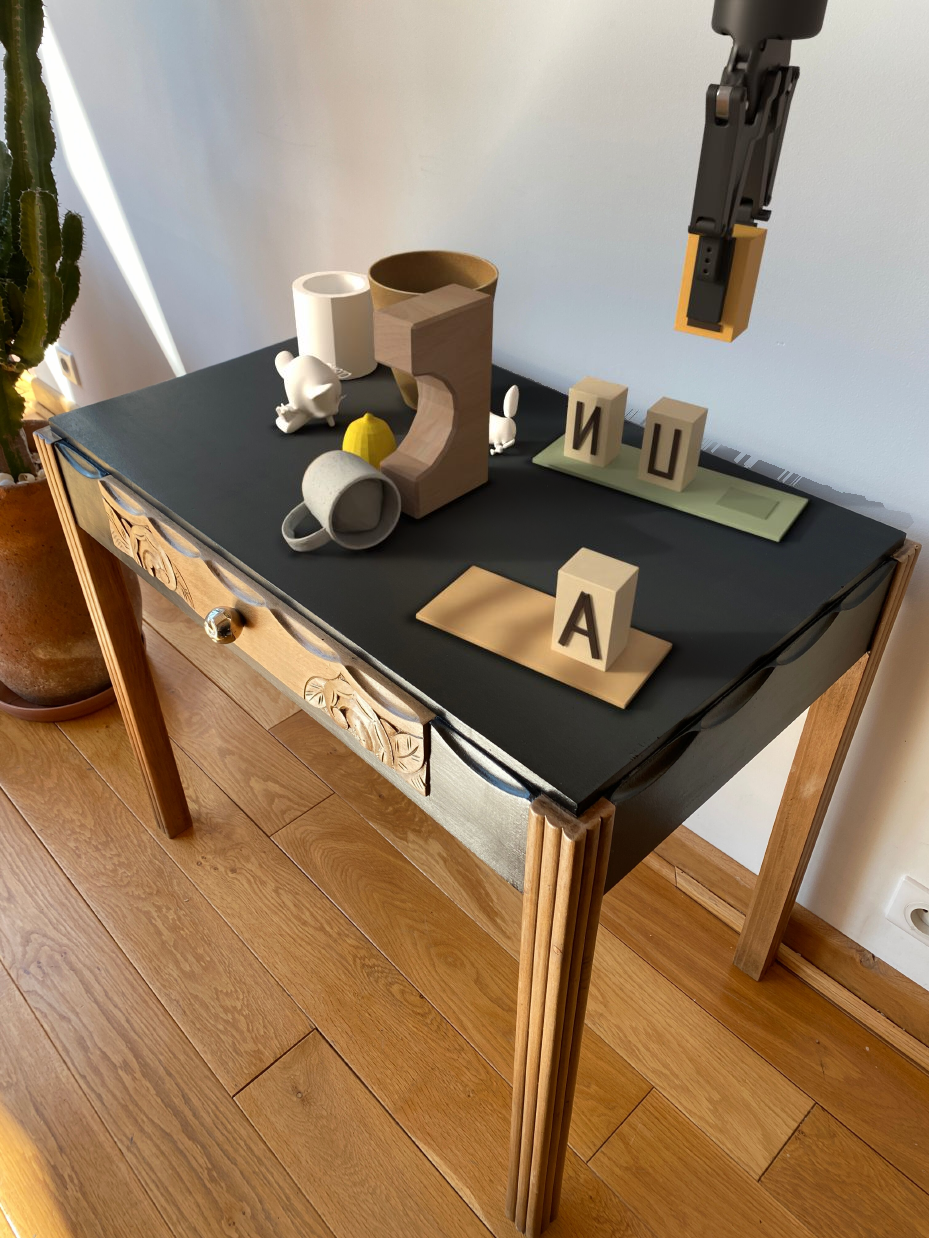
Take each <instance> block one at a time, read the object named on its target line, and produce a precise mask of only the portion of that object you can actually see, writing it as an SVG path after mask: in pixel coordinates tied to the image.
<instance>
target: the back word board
mask: <svg viewBox="0 0 929 1238" xmlns="http://www.w3.org/2000/svg"><path fill="white" fill-rule="evenodd" d="M565 436H566V432H564V434H562V435H561V436H560V437H558V439H556V440H555V441H553V442H552V443H551V444H550V445H548V446H547V447H546V448H545V449H543V450H542V451H541V452H539V453H538V454H537V455H535V456H534V457H533V458H532V463H534V464H537V465H540V466H542V467H546V468H549V469H552V470H555V471H558V472H561V473H564V474H567V475H570V476H573V477H577V478H578V479H579V478H580V479H582V480H585V481H589V482H592V483H595V484H598V485H601V486H603V487H607V488H610V489H612V490H613V489H614V490H617V491H619V492H622V493H626V494H629V495H632V496H636V497H638V498H642V499H644V500H647V501H651V502H652V503H653V502H654V503H657V504H660V505H662V506H666V507H669V508H672V509H675V510H678V511H681V512H685V513H687V514H691V515H693V516H697V517H699V518H703V519H706V520H710V521H713V522H716V523H719V524H721V525H724V526H728V527H731V528H734V529H737V530H740V531H743V532H746V533H749V534H753V535H755V536H758V537H762V538H765V539H768V540H771V541H774V542H777V543H780V541H781V540H782V539H783V537H784V536H785V535H786V533H788V530H789V529H790V527H792V525H793V524H794V522H795V521H796V519H798V517H799V516H800V514H801V513H802V511H804V509H805V507H806V506H807V505H808V503H809V498H805V497H802V496H799V495H795V494H792V493H789V492H785V491H783V490H780V489H775V488H772V487H769V486H765V485H762V484H758V483H755V482H753V481H749V480H745V479H743V478H739V477H736V476H732V475H728V474H725V473H721V472H718V471H716V470H712V469H708V468H705V467H702V466H697V471H696V476H695V478H694V479H693V480H692V481H691V482H690V483H689V484H688V485H687V486H686V487H685V488H684V489H683V490H682V491H681V492H677V491H674V490H671V489H668V488H665V487H661V486H658V485H655V484H652V483H649V482H646V481H642V480H639V479H637V478H638V471H639V464H640V457H641V450H642V448H638V447H635V446H631V445H629V444H625V443H622V442H621V448H620V454H619V455H618V456H617V457H616V458H615V459H613V460H612V461H611V462H610V463H609V464H608V465H607V466H605V467H604V468H601V467H598V466H595V465H592V464H589V463H586V462H582V461H579V460H576V459H573V458H570V457H567V456H564V447H565Z"/></svg>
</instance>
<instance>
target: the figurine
mask: <svg viewBox="0 0 929 1238" xmlns="http://www.w3.org/2000/svg"><path fill="white" fill-rule="evenodd" d="M274 363H275V367H276V370H277V372H278V374H279V375H280V376H281V378H282V379H283V381H284V389H285V392H286V397H287V399H288V403H287V404H285V405H284V403H281V406H277V407H276V408H275V411H276V413H277V415H278V417H277V418H276V419H275V424H276V426H277V427H278V428H279V429H280V430H281V431H283V433H284V434H292V433H295V432H296V431H298V430H299V429H300V428H302V427H303V426H305V424H307V423H308V422H309V421H311V420H321V419H325V420H326V422H327V424H328V425H329V427H334V426H335V424H336V423H335V420H334V417H333V416H334V415H336V414H337V413H339V405H340V402H341V401H342V400H343V399H344V398H345V397H346V396H347V394H345V395H342V383H341V380H339V379H338V378H345V377H347V376H345V377H340V376H339V375H336V373H335V372H334V371H335V370H333V369H332V368H334V367H336V366H334V367H330V366H329V365H331V364H330V363H326V364H325V363H324V362H322V361H321V360H319V359H318V358H316V357H314V356H311V355H302V356H300V355H298V356H296V357H294V356H293V354H292V353H291V352H290V351H287V350H283V351H280V352H279V353H278V354H277V355H276V357H275V359H274ZM327 364H328V365H327ZM331 366H332V365H331ZM334 369H336V370H340V371H339V372H341V371H342V370H343V369H337V368H334ZM339 372H337V373H339ZM343 372H344V373H347V372H346V371H343ZM344 373H342V374H344ZM342 374H340V375H342ZM347 374H349V375H348V376H350V375H351V373H347ZM337 376H339V377H337Z"/></svg>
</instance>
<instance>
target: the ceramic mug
mask: <svg viewBox="0 0 929 1238" xmlns="http://www.w3.org/2000/svg"><path fill="white" fill-rule="evenodd" d="M301 491H302V497H303V501H302V502H301V503H300V504H298V505H297V506H296V507H294V508H293V509H292V510H291V511H290V512H289V513H288V514H287V515H286V517H285V518H284V519H283V520H284V521H283V522H282V526H281V533H282V536H283V537H284V539H285V541H286V543H287V544H288V545H289V546H290V547H291V549H293V550H294V551H297V552H312V551H314V550H317V549H319V548H321V547H322V546H324V545H326V544H328V543H329V542H331V541H334V542H335V543H336V544H338V545H339V546H341V547H343V548H345V549H348V550H355V551H358V550H366V549H369V548H372V547H375V546H377V545H379V544H380V543H381V542H383V541H384V540H386V538H387V537H388V536H389V535H390V534H391V533H392V532H393V531H394V529H395V528H396V526H397V524H398V521H399V519H400V515H401V512H402V511H401V497H400V494H399V491H398V489H397V487H396V485H395V484H394V483H393V481H392V480H390V479H389V478H388V477H386V476H385V475H384V474H382V473H381V472H380V471H378V470H377V469H376V468H374V467H373V466H372V465H370V464H369V463H368V462H366V461H365V460H364V459H362V458H361V457H360V456H358V455H356V454H353V453H351V452H347V451H343V449H337V450H330V451H327V452H324V453H322V454H320V455H318V456H317V457H316V458H315V459H314V460H313V461H311V463H310V464H309V465H308V466H307V468H306V470H305V472H304V475H303V477H302V482H301ZM311 514H312V515H313V517H314V518H315V519H316V520H317V521H318V522H319V523H320V525H321V527H322V528H320V530H317V531H316V532H314V533H312V534H310V535H308V536H305V537H301V538H295V532H294V530H295V529H296V527H297V526H298V525H299V524H300V523H301V522H302V521H303V520H304V519H306V517H308V516H309V515H311Z"/></svg>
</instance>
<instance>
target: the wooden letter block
mask: <svg viewBox="0 0 929 1238" xmlns="http://www.w3.org/2000/svg"><path fill="white" fill-rule="evenodd" d="M628 394H629V387H628V386H626V385H622V384H618V383H614V382H611V381H608V380H603V379H599V378H597V377H593V376H589V375H587V376H585V377H583V378H582V379H581V380H579V381H578V382H577V383H575V384H574V385H572V386H571V387H570V388H569V391H568V402H567V406H568V407H567V415H566V427H565V433H566V436H565V447H564V456H567V457H570V458H573V459H576V460H579V461H582V462H586V463H589V464H592V465H595V466H598V467H601V468H604V467H605V466H607V465H608V464H609V463H610V462H611V461H612V460H613V459H615V458H616V457H617V456H618V455H619V454H620V448H621V443H622V439H623V432H624V426H625V425H624V424H625V416H626V415H625V414H626V409H627V402H628V401H627V400H628Z"/></svg>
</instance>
